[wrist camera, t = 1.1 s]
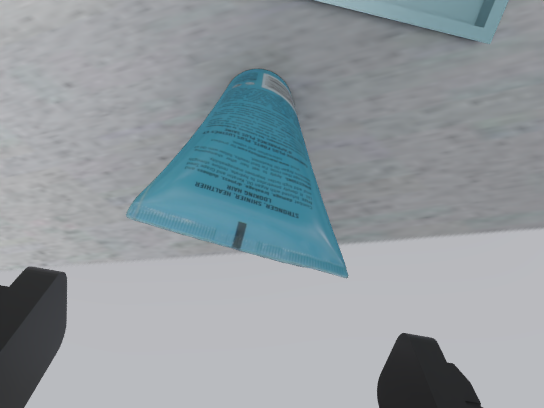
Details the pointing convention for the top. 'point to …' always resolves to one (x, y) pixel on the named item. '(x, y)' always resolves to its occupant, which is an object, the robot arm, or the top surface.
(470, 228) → the top surface
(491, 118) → the top surface
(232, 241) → the tube
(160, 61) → the top surface
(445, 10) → the tray
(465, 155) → the top surface
